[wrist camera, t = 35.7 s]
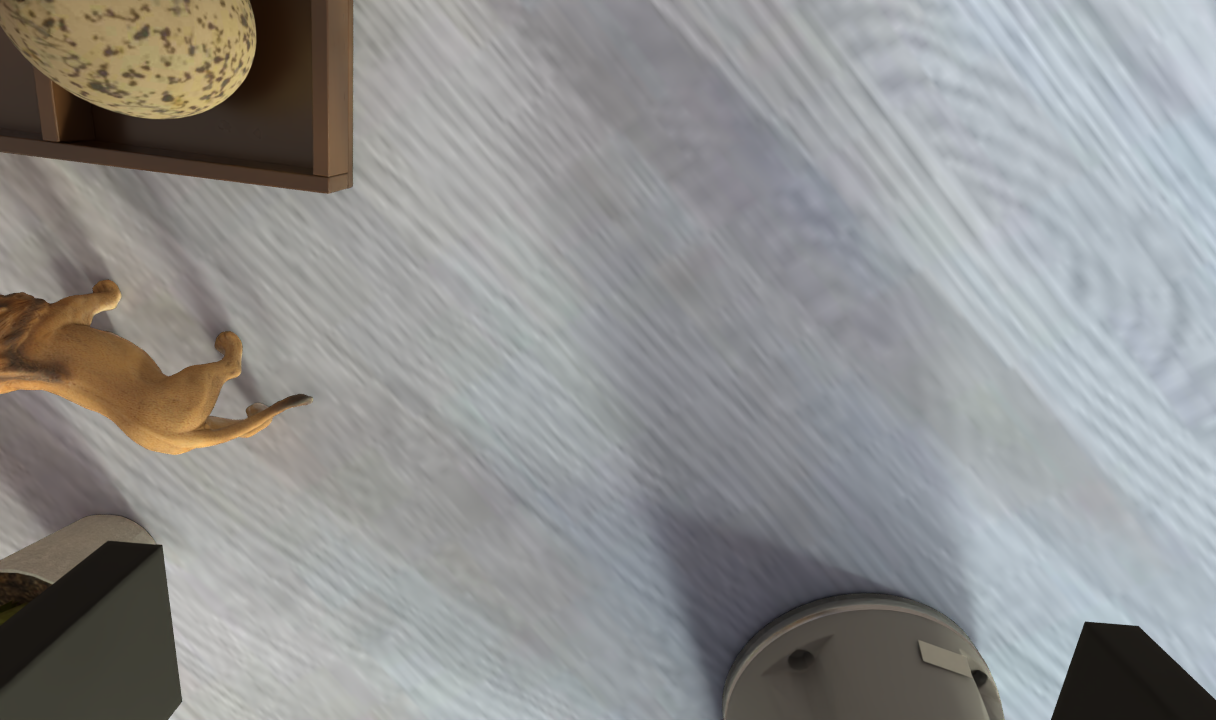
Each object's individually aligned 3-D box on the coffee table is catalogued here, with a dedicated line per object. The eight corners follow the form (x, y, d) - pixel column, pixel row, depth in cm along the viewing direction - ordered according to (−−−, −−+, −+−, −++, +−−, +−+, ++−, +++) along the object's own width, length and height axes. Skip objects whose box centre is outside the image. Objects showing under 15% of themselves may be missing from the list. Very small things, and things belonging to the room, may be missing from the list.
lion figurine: (20, 348, 35) (-171, 423, 27) (26, 248, 34) (-175, 294, 25) (308, 437, 37) (213, 535, 28) (329, 345, 35) (234, 421, 27)
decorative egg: (245, 152, 31) (83, 169, 22) (94, 49, 30) (-147, 21, 21) (321, 7, 29) (179, -43, 20) (163, -110, 28) (-68, -221, 19)
